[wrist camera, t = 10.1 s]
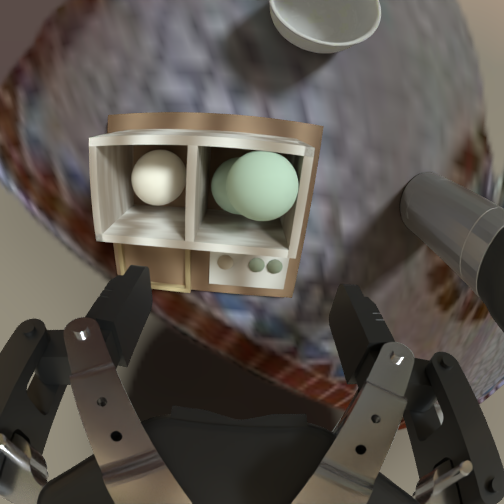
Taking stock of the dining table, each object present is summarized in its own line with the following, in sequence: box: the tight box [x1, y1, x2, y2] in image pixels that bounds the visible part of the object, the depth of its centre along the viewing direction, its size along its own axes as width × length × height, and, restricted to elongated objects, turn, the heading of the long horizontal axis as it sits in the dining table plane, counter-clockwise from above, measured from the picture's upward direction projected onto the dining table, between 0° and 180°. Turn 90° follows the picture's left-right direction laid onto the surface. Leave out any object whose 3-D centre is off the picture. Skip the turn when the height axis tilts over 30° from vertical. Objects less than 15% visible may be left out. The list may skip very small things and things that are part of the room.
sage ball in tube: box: [211, 157, 241, 215], centre depth 29 cm, size 6×6×6 cm
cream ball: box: [131, 150, 187, 205], centre depth 28 cm, size 6×6×6 cm
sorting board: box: [89, 112, 323, 298], centre depth 30 cm, size 25×23×10 cm
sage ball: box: [226, 150, 298, 221], centre depth 23 cm, size 6×6×6 cm
